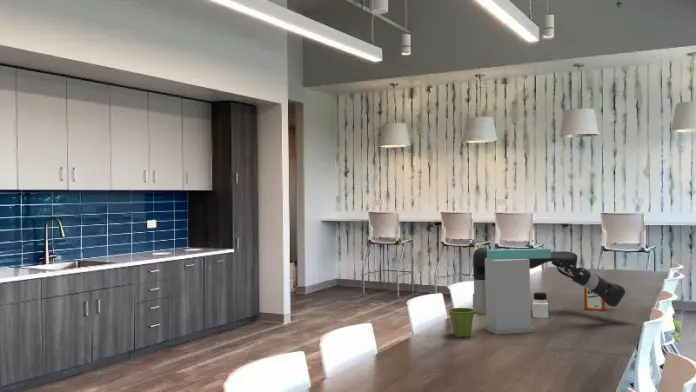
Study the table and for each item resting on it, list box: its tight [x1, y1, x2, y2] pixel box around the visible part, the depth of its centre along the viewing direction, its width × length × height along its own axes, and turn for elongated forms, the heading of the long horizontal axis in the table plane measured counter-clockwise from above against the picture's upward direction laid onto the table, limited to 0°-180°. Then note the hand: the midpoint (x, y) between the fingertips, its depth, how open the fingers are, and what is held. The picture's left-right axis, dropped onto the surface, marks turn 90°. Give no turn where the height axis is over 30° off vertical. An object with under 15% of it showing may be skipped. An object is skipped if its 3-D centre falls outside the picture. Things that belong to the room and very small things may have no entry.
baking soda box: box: [583, 278, 606, 312], centre depth 328 cm, size 10×6×16 cm
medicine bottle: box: [531, 291, 550, 319], centre depth 313 cm, size 7×7×12 cm
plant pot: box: [447, 307, 475, 338], centre depth 275 cm, size 12×12×11 cm
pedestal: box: [483, 258, 535, 335], centre depth 284 cm, size 18×14×32 cm
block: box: [487, 247, 552, 260], centre depth 285 cm, size 28×4×4 cm, turn 92°
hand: (557, 262), depth 289 cm, fingers open, 8 cm apart
